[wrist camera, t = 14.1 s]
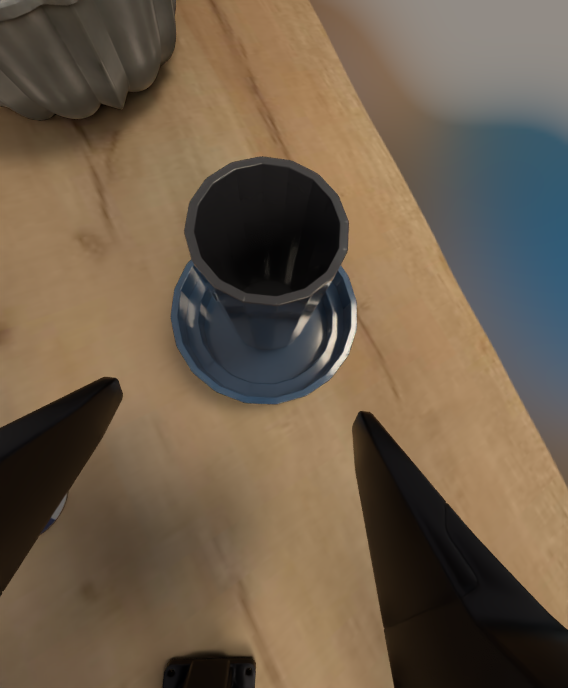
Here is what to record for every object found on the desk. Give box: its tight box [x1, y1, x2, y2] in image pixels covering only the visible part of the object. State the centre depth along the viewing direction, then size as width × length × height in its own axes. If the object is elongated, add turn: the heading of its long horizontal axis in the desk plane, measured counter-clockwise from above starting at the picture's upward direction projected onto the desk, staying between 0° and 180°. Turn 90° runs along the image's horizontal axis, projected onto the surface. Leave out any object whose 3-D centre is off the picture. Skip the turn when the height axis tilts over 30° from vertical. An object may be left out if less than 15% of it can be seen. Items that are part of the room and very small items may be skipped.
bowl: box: [171, 259, 357, 404], centre depth 21 cm, size 14×14×4 cm
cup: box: [184, 156, 349, 350], centre depth 16 cm, size 7×7×12 cm
